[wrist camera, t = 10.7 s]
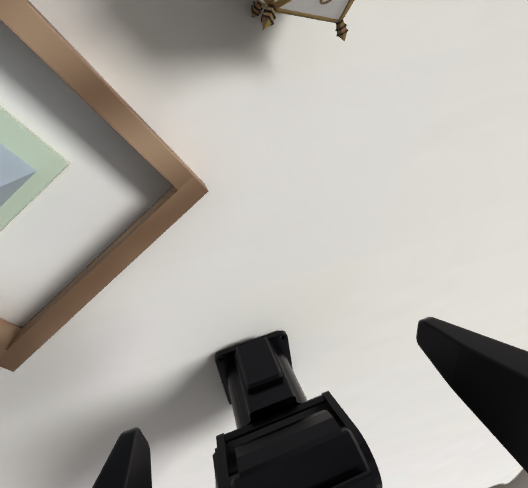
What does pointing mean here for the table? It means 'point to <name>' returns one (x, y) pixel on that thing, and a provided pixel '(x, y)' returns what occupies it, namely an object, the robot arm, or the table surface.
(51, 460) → the table surface
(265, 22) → the game die
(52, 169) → the pad
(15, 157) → the slate-blue block
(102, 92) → the frame
